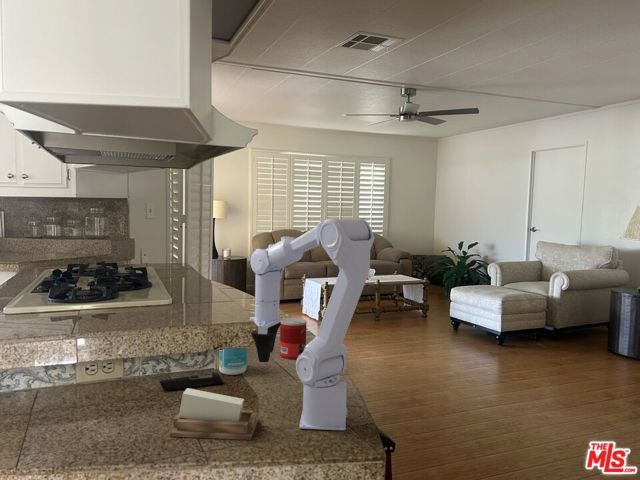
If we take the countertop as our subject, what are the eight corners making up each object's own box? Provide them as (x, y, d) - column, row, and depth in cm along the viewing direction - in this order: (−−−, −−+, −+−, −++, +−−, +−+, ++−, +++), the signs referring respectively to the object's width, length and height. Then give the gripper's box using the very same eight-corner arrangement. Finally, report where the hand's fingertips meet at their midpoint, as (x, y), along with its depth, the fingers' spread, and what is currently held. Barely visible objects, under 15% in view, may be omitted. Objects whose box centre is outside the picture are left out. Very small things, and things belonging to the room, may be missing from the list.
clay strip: (239, 422, 104) (244, 399, 104) (236, 428, 101) (241, 404, 101) (183, 411, 105) (187, 388, 104) (178, 417, 102) (182, 393, 101)
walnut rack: (258, 420, 107) (258, 408, 107) (250, 440, 98) (251, 427, 98) (184, 417, 108) (184, 405, 108) (170, 436, 99) (170, 423, 99)
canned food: (305, 360, 150) (306, 323, 149) (278, 359, 150) (279, 323, 149) (306, 352, 157) (307, 318, 157) (280, 351, 157) (281, 317, 157)
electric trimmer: (158, 389, 125) (157, 377, 124) (219, 380, 131) (219, 368, 131) (160, 395, 121) (160, 382, 121) (223, 385, 128) (223, 373, 128)
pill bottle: (252, 370, 139) (252, 322, 138) (233, 377, 133) (234, 327, 132) (231, 365, 143) (232, 318, 142) (213, 372, 137) (213, 323, 136)
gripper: (255, 293, 126) (254, 347, 127) (244, 305, 111) (243, 365, 112) (283, 294, 126) (282, 348, 127) (276, 306, 111) (275, 366, 112)
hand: (266, 356), depth 119 cm, fingers open, 7 cm apart
